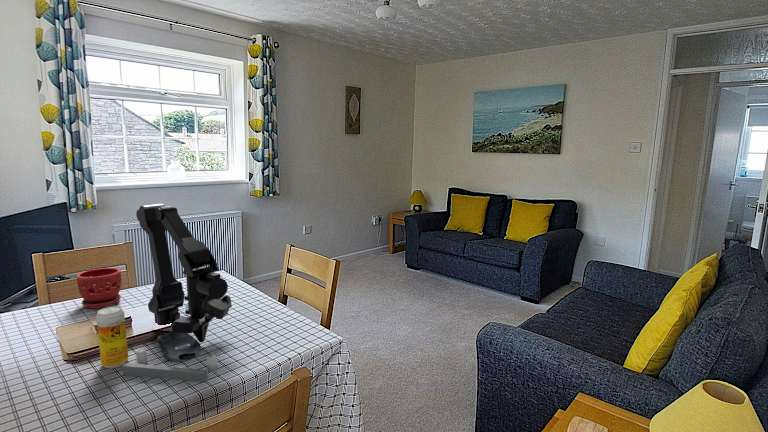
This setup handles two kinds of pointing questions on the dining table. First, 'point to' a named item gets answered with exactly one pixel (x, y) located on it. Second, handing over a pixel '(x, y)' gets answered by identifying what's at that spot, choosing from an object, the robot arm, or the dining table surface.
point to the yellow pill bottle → (112, 336)
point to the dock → (168, 369)
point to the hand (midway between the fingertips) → (201, 341)
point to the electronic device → (178, 345)
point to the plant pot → (99, 287)
